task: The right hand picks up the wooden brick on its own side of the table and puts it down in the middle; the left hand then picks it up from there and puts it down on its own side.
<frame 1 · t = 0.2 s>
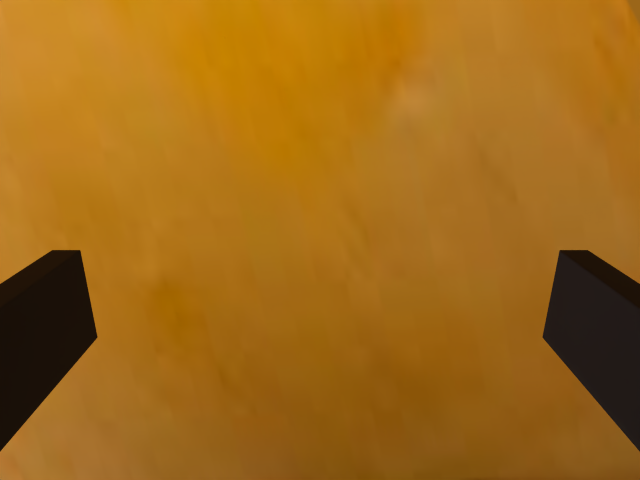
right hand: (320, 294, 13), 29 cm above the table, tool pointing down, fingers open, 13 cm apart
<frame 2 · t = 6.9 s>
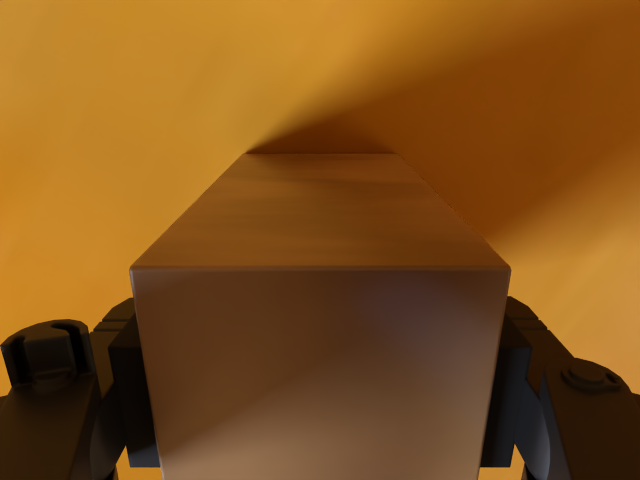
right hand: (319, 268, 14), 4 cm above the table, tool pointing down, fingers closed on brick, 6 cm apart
brick: (320, 229, 18), on the table, touching right hand
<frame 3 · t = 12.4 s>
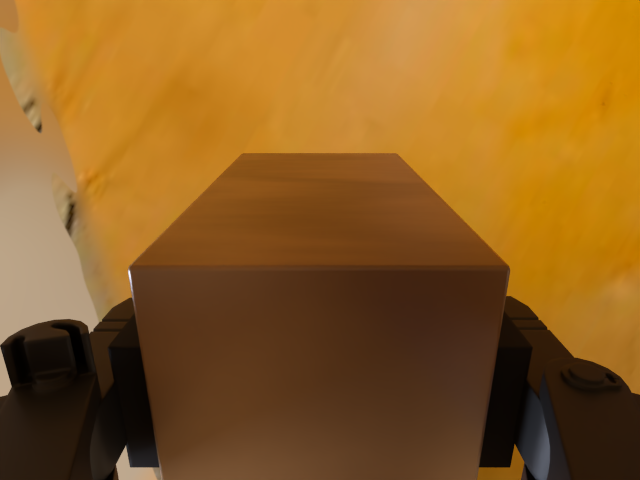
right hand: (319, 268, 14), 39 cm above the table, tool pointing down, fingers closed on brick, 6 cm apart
brick: (319, 229, 18), point 35 cm above the table, touching right hand
when the right hand's fingers open (5 cm above the table, at t = 18.2 s): brick drops 1 cm, on the table.
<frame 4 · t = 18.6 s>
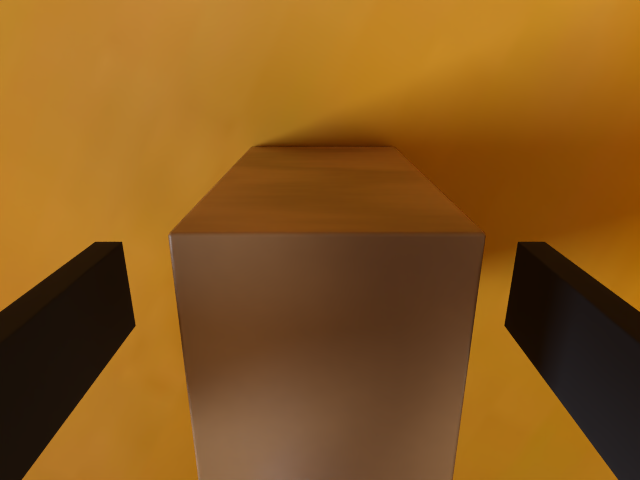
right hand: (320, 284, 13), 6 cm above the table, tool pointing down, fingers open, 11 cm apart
brick: (322, 217, 19), on the table
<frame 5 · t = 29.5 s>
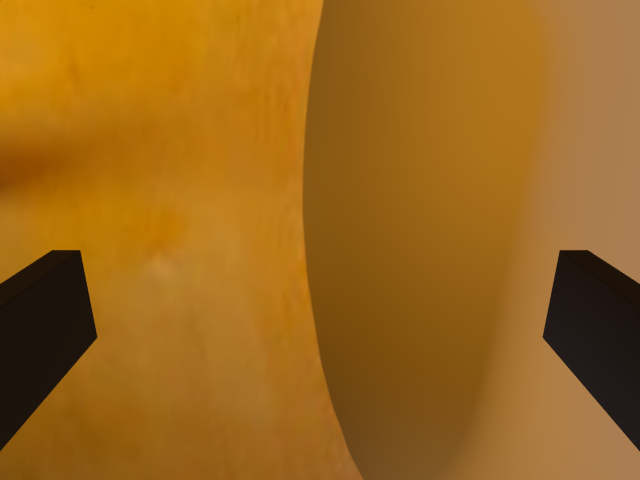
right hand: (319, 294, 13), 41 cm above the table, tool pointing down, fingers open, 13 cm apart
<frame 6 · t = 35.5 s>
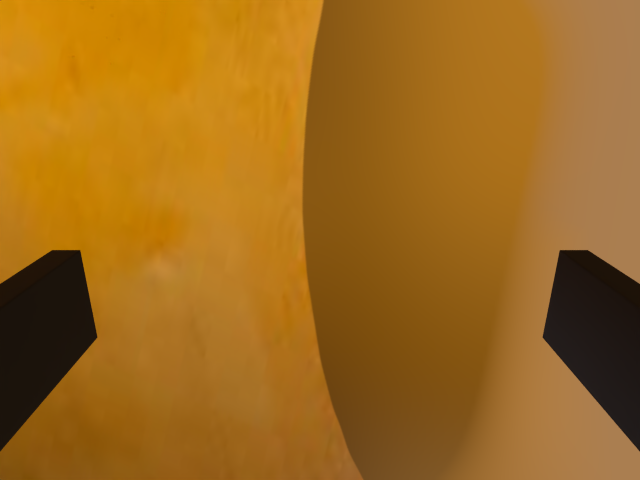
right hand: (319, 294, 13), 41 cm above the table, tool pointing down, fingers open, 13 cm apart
when the left hand's fingers open (5 cm above the table, at t = 41.7 s): brick drops 1 cm, on the table.
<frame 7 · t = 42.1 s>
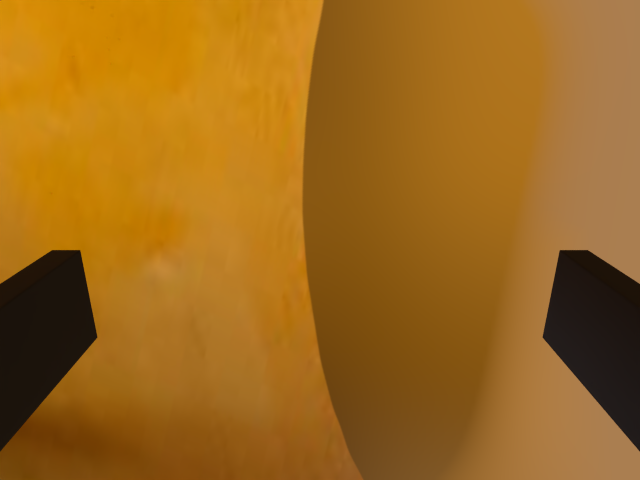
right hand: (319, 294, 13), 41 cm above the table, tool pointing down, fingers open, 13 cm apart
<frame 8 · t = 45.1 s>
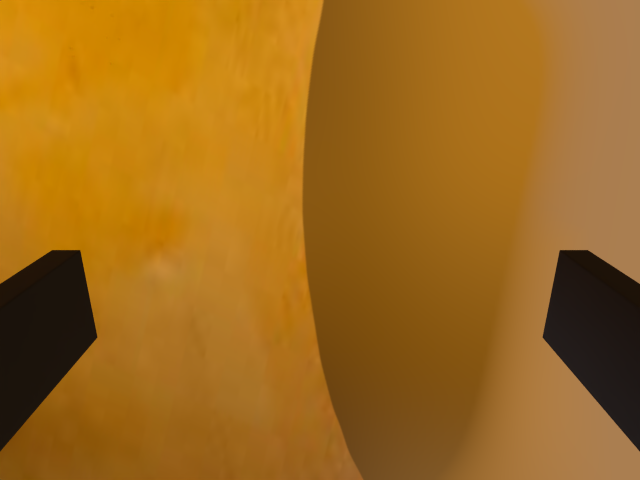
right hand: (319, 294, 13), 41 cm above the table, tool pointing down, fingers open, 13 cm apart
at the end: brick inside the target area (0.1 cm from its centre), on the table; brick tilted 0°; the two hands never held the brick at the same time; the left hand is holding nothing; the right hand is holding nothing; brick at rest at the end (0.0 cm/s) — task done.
